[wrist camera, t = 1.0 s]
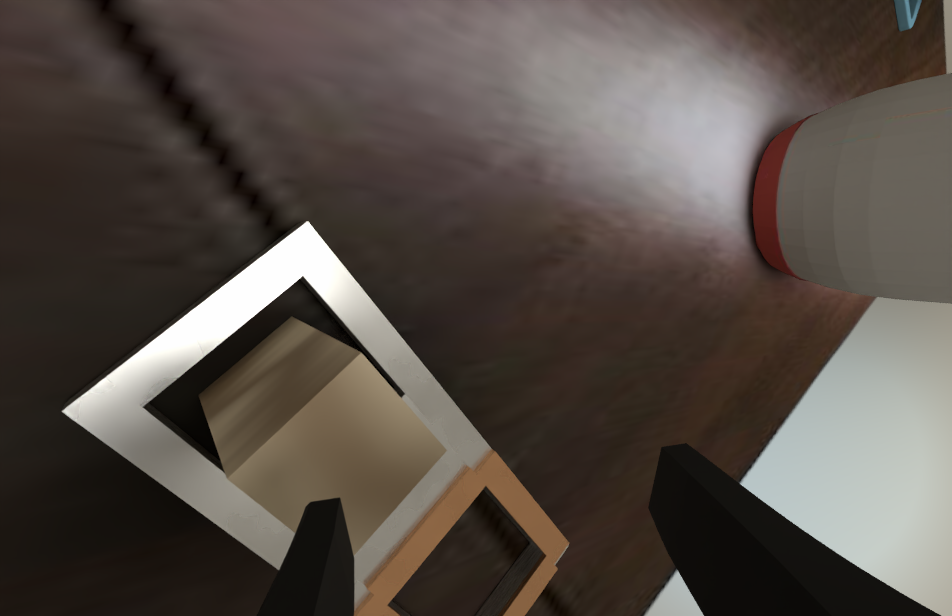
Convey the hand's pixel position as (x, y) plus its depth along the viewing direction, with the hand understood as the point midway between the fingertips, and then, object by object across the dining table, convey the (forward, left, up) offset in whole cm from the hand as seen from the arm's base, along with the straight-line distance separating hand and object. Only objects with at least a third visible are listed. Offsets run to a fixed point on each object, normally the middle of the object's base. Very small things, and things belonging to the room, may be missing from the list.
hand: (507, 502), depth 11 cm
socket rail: (-2, -6, -13) cm, 14 cm away
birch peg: (-2, +1, -13) cm, 13 cm away
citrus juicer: (+37, -17, -13) cm, 43 cm away
